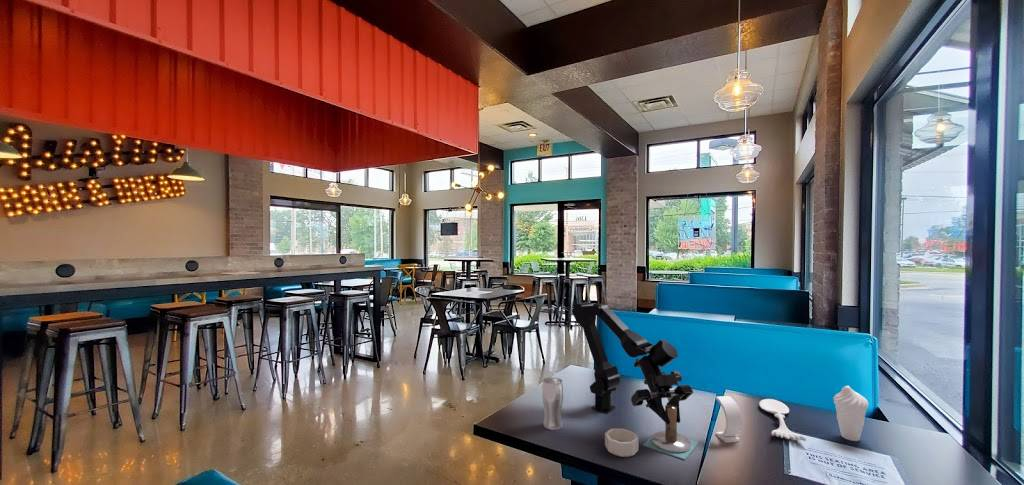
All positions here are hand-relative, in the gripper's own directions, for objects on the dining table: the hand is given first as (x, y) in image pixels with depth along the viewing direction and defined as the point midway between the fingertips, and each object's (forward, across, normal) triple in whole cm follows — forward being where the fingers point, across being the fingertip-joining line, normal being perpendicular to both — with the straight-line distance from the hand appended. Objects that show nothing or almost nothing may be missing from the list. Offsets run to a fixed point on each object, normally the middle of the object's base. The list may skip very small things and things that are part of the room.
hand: (673, 423), depth 120 cm
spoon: (+2, +43, +9) cm, 44 cm away
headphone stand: (+5, +19, +5) cm, 21 cm away
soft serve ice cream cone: (+11, +56, -1) cm, 57 cm away
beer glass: (-10, -30, +21) cm, 38 cm away
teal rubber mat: (+4, 0, +6) cm, 7 cm away
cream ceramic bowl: (+3, -16, +7) cm, 17 cm away
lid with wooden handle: (+4, 0, +6) cm, 7 cm away
